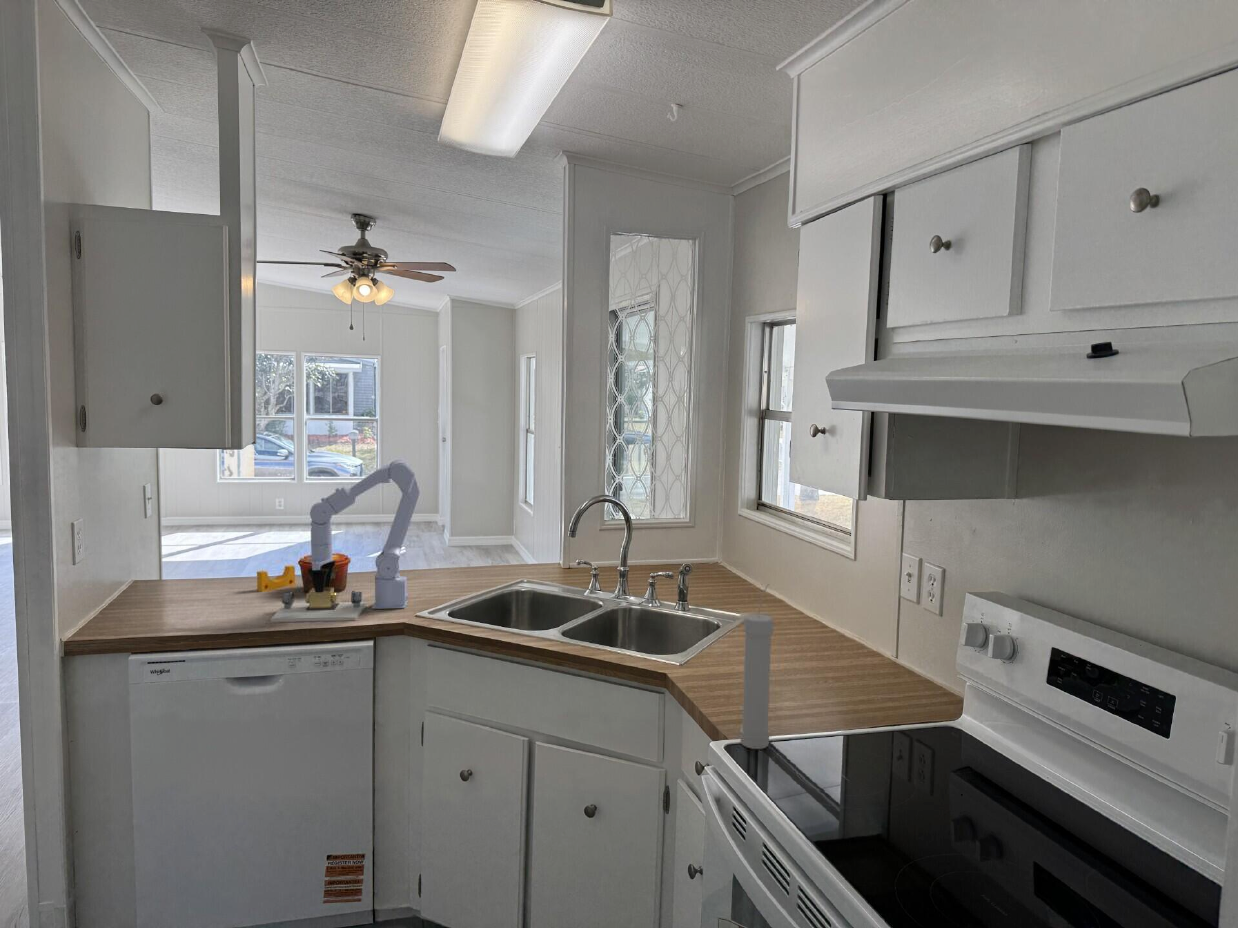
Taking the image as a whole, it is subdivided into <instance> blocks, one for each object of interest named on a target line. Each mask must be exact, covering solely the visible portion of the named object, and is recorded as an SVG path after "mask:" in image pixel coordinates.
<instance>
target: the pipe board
mask: <svg viewBox="0 0 1238 928" xmlns="http://www.w3.org/2000/svg"><path fill="white" fill-rule="evenodd" d="M294 601H295V593H294V592H293V591H290V592H289V593H288V592H287V593H285V592H284V593H282V596H281V604H282V605H283V604H284V606H282V608H281V607H280V609H279V610H277V612H276V613H275V614H274V615H273V616H272V617H271V618H270V623H291V622H293V623H294V622H295V623H296V622H339V621H357V619H358V617H359V616H360V615H361V614H362V612H363V611H364V609H365V608H366V606H367V602H366V601H363V592H362V591H356V590H351V596H350V601H349V602H347V601H345V602H342V601H341V602H340V601H339V602H338V601H337V603H334V605H333V606H332V607H331V608H309V603H306V602H300V603H298V602H296V603H294Z"/></svg>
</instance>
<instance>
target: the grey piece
mask: <svg viewBox="0 0 1238 928" xmlns="http://www.w3.org/2000/svg"><path fill="white" fill-rule="evenodd" d="M769 585H770V584H769V583H767V585H766V586H765V588H764V590H763V593H762V595H761V598H760V601H759V607H758V614H756V613H753V614H748V615H745V616H744V619H743V629H742V630H743V632H744V633H745V635H744V636H745V637H744V638H745V639H744V641H745V642H744V666H743V667H744V668H743V695H742V698H743V699H742V726H741V727H740V729H739V731H740V743H741V744H742V746H744V747H746V748H748V749H752V750H762V749H765V748H767V747H768V746H769V744H770V742H769V741H770V736H771V732H770V729H769V703H770V702H769V700H770V676H771V673H770V672H771V644H772V635H773V633H774V628H773V627H774V619H773V618H772V617H771V616H770V615H765V614H760V611H761V606H762V601H763V597H764V595H765V593H766V590H767V588H768V587H769Z"/></svg>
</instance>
